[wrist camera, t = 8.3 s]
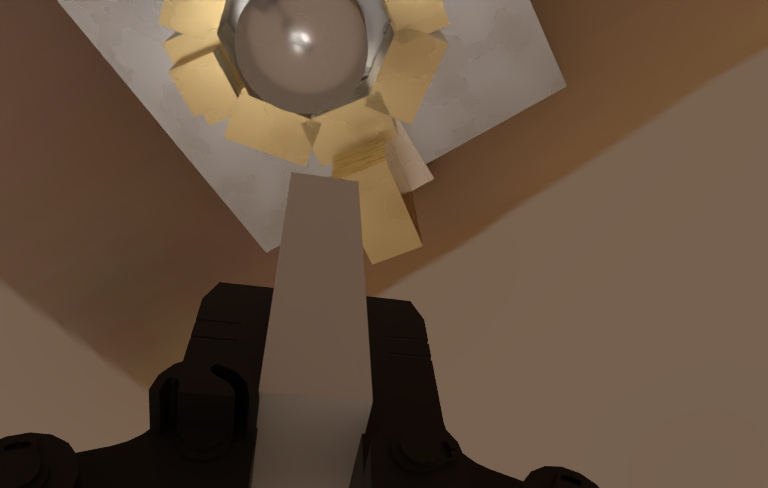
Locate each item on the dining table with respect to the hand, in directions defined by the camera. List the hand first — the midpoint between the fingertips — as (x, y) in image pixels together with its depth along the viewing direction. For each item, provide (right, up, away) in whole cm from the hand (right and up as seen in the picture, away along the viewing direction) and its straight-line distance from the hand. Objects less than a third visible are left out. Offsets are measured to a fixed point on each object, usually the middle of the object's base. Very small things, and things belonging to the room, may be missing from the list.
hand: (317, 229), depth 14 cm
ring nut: (-1, +7, +11) cm, 13 cm away
